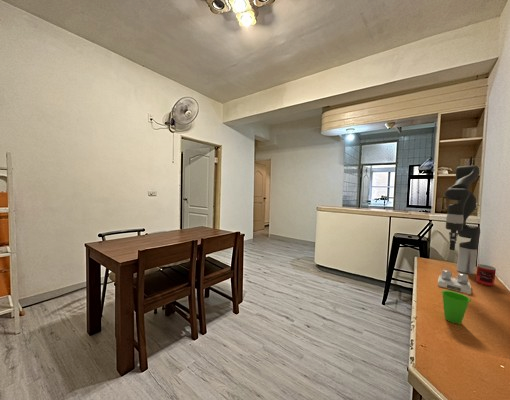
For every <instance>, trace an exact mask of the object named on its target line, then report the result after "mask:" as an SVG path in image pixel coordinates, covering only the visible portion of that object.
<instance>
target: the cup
mask: <svg viewBox="0 0 510 400" xmlns="http://www.w3.org/2000/svg"><path fill="white" fill-rule="evenodd" d="M441 294H442V301H443V303H442V304H443V311H444V312H443V313H444V318H446V319H445V320H446V321H447V320H448V321H447V322H449V321H450V322H449V323H451V322H453V323H452V324H454V323H458V324H457V325H460V324H459V323H461V324H462V322H463V319H464V318H465V314H466V311H467V308H468V306H469V302H471V298H470V297H468V296H467V295H464V294H463V293H460V292H458V291H454V290H445V289H444V290H442V291H441Z"/></svg>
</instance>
